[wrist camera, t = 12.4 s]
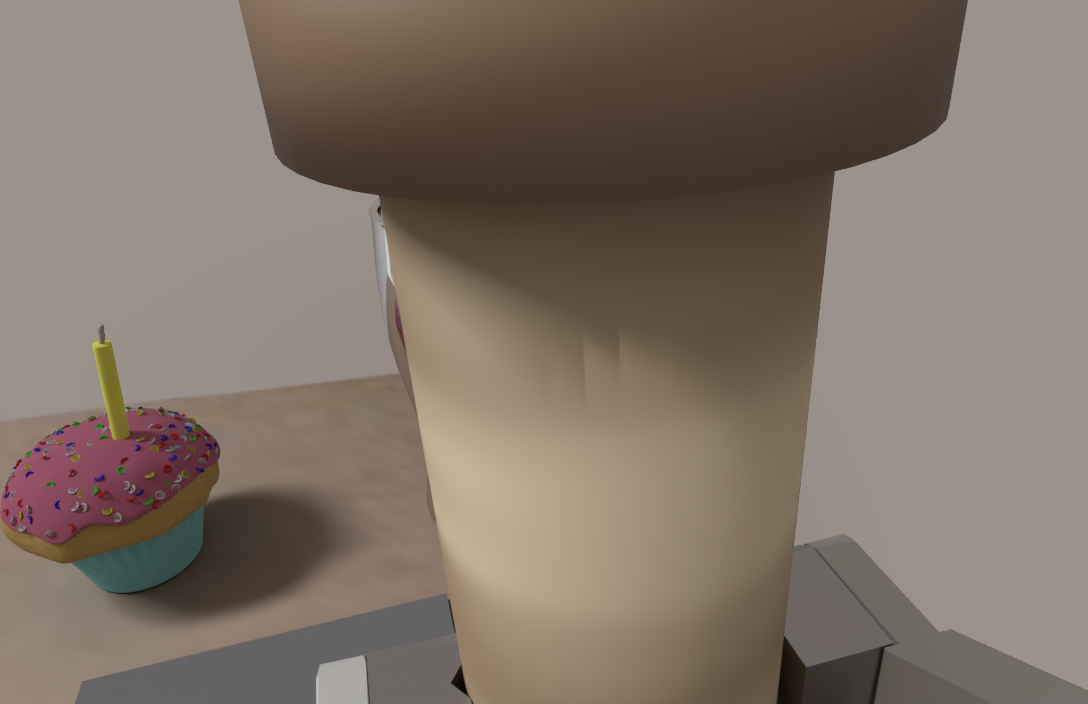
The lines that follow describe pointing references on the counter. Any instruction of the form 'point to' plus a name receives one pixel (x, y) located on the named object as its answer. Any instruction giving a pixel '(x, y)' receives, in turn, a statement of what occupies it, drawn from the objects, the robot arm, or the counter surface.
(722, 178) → the brown piece
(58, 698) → the counter surface
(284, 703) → the mat
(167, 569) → the cupcake
